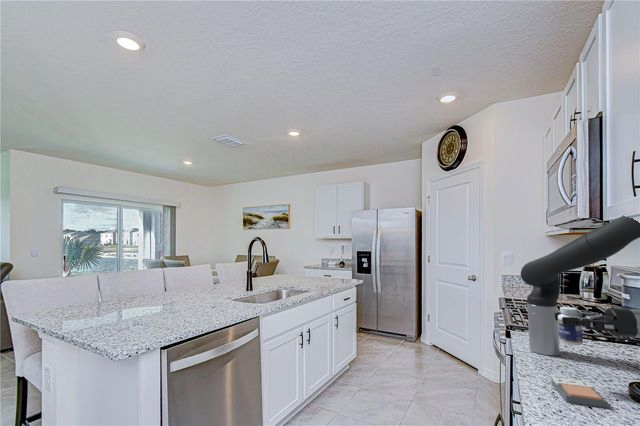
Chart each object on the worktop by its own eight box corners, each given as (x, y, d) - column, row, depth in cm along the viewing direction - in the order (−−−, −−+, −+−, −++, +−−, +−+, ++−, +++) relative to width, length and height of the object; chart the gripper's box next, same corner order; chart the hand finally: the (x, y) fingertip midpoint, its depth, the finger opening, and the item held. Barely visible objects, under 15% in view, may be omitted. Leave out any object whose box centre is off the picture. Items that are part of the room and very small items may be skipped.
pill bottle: (555, 341, 94) (552, 307, 95) (567, 338, 96) (564, 305, 97) (575, 346, 89) (572, 310, 90) (587, 344, 91) (584, 308, 92)
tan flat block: (551, 384, 91) (551, 376, 92) (587, 389, 88) (587, 380, 89) (566, 402, 81) (565, 393, 81) (608, 408, 78) (607, 398, 78)
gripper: (615, 304, 95) (549, 301, 101) (646, 314, 82) (567, 310, 87) (618, 330, 95) (550, 325, 100) (649, 344, 81) (569, 338, 87)
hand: (558, 318), depth 94 cm, fingers closed on pill bottle, 5 cm apart
